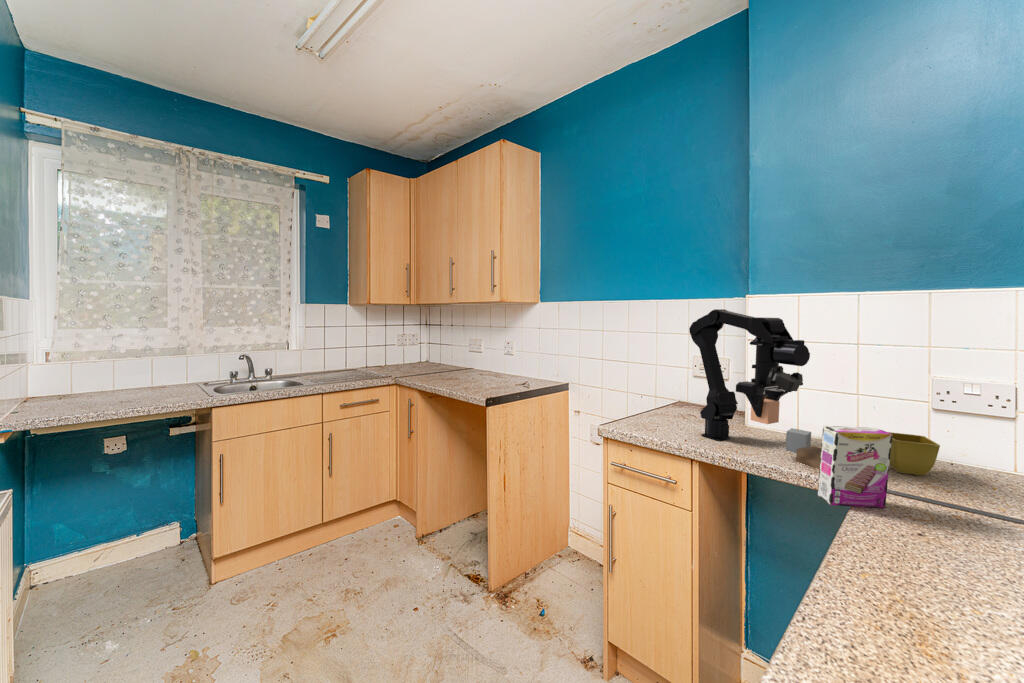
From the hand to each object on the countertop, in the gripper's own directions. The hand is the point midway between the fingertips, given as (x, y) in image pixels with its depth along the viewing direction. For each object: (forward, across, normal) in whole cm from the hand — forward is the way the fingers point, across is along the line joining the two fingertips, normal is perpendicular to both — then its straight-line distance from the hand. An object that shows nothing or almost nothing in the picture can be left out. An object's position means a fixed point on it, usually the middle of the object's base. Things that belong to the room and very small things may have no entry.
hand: (764, 415), depth 120 cm
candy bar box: (+12, -12, -28) cm, 32 cm away
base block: (+12, +6, -11) cm, 17 cm away
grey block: (+12, +13, -2) cm, 17 cm away
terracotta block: (+2, 0, 0) cm, 2 cm away
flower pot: (+12, +22, -24) cm, 35 cm away
